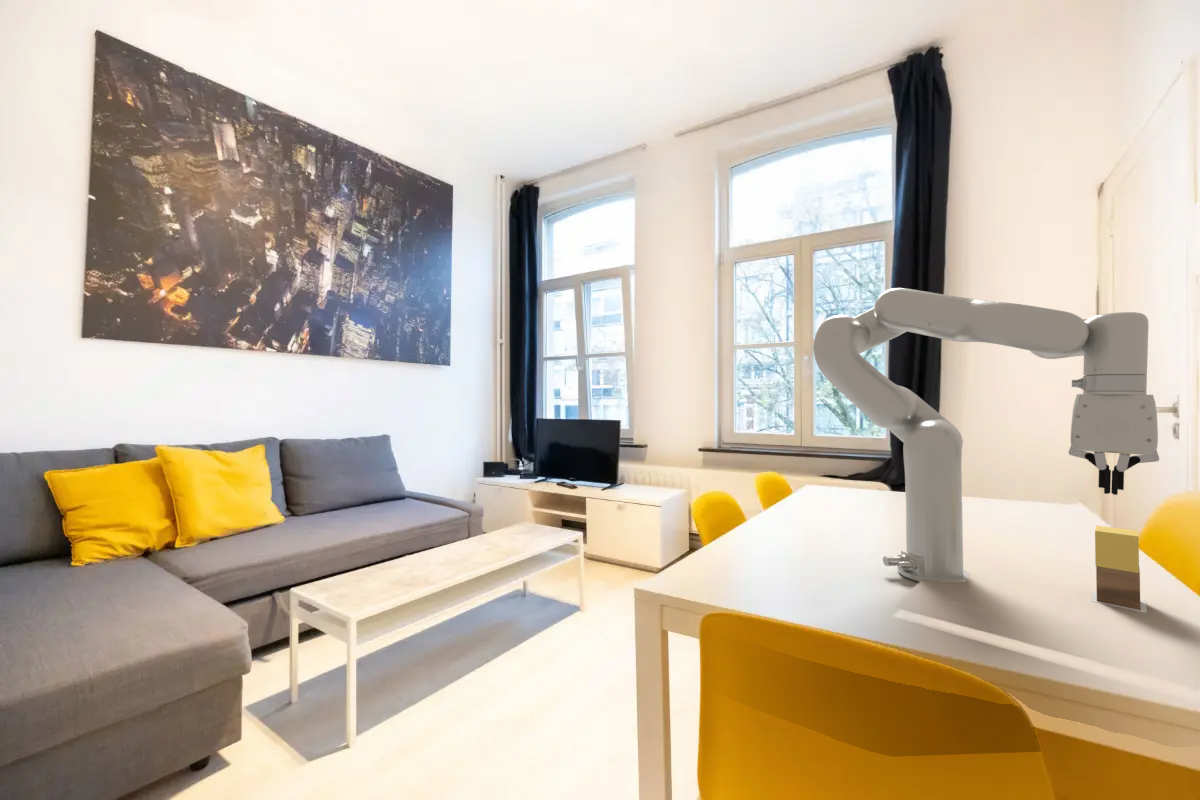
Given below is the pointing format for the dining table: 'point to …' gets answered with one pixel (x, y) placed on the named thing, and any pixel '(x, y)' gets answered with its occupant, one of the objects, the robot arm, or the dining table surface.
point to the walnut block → (1118, 587)
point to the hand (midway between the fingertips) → (1110, 492)
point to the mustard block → (1117, 548)
